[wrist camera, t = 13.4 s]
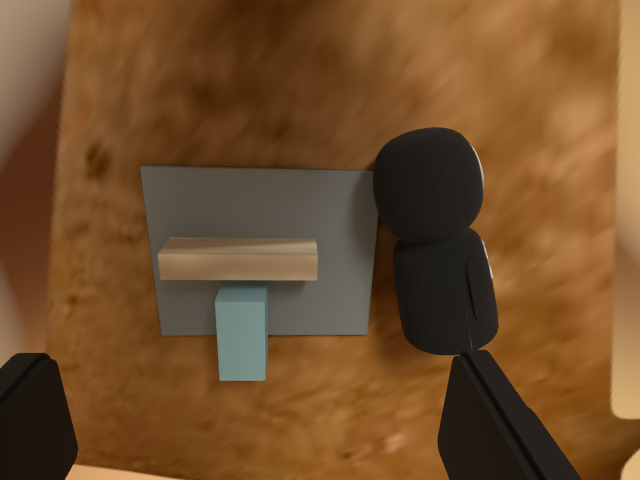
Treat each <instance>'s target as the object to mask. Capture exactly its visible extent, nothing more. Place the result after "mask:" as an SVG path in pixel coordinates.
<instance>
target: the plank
mask: <svg viewBox="0 0 640 480" xmlns="http://www.w3.org/2000/svg"><path fill="white" fill-rule="evenodd" d="M158 262H159V271H160V279H161V280H317V268H318V252H317V244H316V239H287V238H200V237H170V238H169V239H168V241H167V242H166V243H165V245H164V246H163V247H162V249H161V250H160V251H159V253H158Z"/></svg>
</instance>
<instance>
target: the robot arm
mask: <svg viewBox="0 0 640 480" xmlns="http://www.w3.org/2000/svg"><path fill="white" fill-rule="evenodd" d="M438 449H439V453H440V456H441V458H442V461H443V464H444V466H445V469H446V471H447V474H448V477H449V479H450V480H582V479H581V478H580V476H579V475H578V473H577V472H576V471H575V469H574V468H573V466H572V465H571V463H570V462H569V461H568V459H567V458H566V456H565V455H564V454H563V452H562V451H561V449H560V448H559V447H558V445H557V444H556V442H555V441H554V439H553V438H552V437H551V435H550V434H549V432H548V431H547V430H546V428H545V427H544V425H543V424H542V423H541V421H540V420H539V418H538V417H537V415H536V414H535V413H534V412H533V411H532V410H531V409H530V408H529V407H527V406H526V404H525V403H524V402H523V400H522V399H521V397H520V396H519V394H518V393H517V392H516V390H515V389H514V387H513V386H512V384H511V383H510V382H509V380H508V379H507V377H506V376H505V374H504V373H503V372H502V370H501V369H500V367H499V366H498V364H497V363H496V361H495V360H494V359H493V357H492V356H491V354H490V353H489V352H488V351H487V350H462V351H461V352H460V355H459V356H455V357H454V358H453V361H452V366H451V371H450V376H449V381H448V386H447V392H446V397H445V402H444V407H443V412H442V418H441V423H440V428H439V433H438ZM77 452H78V445H77V440H76V436H75V432H74V428H73V424H72V420H71V416H70V412H69V408H68V404H67V400H66V396H65V392H64V388H63V384H62V380H61V376H60V372H59V368H58V364H57V362H56V361H55V360H53V359H50V356H49V355H48V354H46V353H18V354H15V355H14V356H13V357H11V358H10V359H9V360H8V361H7V362H6V363H5V364H4V365H3V366H2V367H1V368H0V480H65V478H66V476H67V475H68V473H69V471H70V469H71V468H72V466H73V464H74V462H75V460H76V457H77Z"/></svg>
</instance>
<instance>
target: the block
mask: <svg viewBox="0 0 640 480" xmlns="http://www.w3.org/2000/svg"><path fill="white" fill-rule="evenodd" d="M215 311H216V328H217V345H218V362H219V379H220V381H265V379H266V369H267V358H268V280H222V283H221V285H220V288H219V291H218V294H217V297H216V300H215Z"/></svg>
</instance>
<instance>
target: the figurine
mask: <svg viewBox="0 0 640 480" xmlns="http://www.w3.org/2000/svg"><path fill="white" fill-rule="evenodd" d="M483 189H484V176H483V170H482V166H481V163H480V160H479V157H478V155H477V153H476V152H475V150H474V148H473V147H472V146H471V144H470V143H469V142H468V141H467V140H466V139H465V138H464V137H463V136H462V135H461V134H460V133H458V132H456V131H454V130H451V129H447V128H436V127H432V128H424V129H419V130H414V131H411V132H407V133H405V134H402V135H400V136H398V137H396V138H394V139H392V140H391V141H389V142H388V143H387V144H386V145H384V147H383V148H382V149H381V150H380V152H379V153H378V156H377V158H376V161H375V165H374V171H373V192H374V199H375V204H376V208H377V211H378V214H379V216H380V218H381V220H382V221H383V223H384V224H385V226H386V227H387V228H388V229H389V230H390V231H391V232H393V233H394V234H395V235H397V236H398V237H400V240H399V241H398V242H397V243H396V245H395V248H394V253H393V264H394V276H395V285H396V293H397V300H398V306H399V312H400V318H401V323H402V328H403V332H404V335H405V337H406V339H407V340H408V341H409V343H410V344H412V345H413V346H414V347H416V348H418V349H420V350H422V351H424V352H428V353H431V354H437V355H458V354H460V352H461V351H462V350H477V349H479V348H481V347H483V346H485V345H486V344H488V343H489V342H490V341H491V340H492V339H493V338H494V336H495V335H496V333H497V331H498V327H499V325H498V315H497V307H496V300H495V294H494V288H493V282H492V278H493V275H492V271H491V267H490V263H489V262H488V256H487V252H486V249H485V244H484V242H483V241H482V240H481V238H480V236H479V235H478V234H477V233H476V232H475V231H474V230H472V229H471V228H469V226H470V225H471V224H472V223H473V221H474V220H475V218H476V217H477V215H478V213H479V211H480V209H481V206H482V201H483Z"/></svg>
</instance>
